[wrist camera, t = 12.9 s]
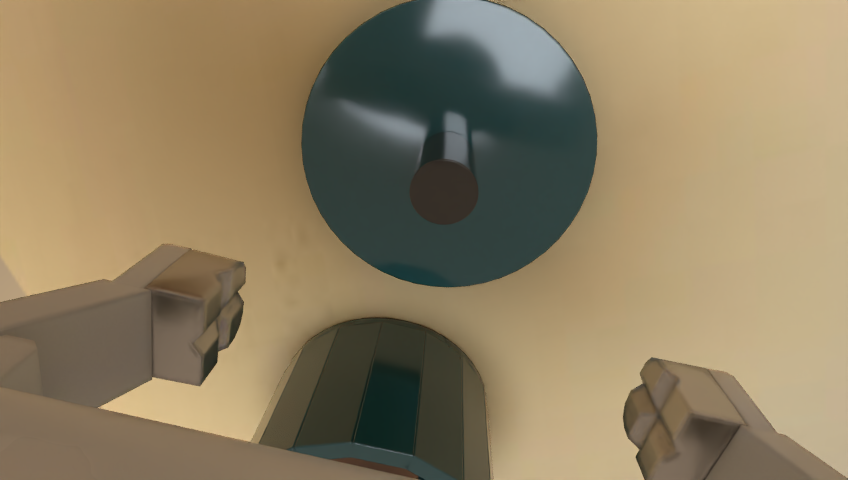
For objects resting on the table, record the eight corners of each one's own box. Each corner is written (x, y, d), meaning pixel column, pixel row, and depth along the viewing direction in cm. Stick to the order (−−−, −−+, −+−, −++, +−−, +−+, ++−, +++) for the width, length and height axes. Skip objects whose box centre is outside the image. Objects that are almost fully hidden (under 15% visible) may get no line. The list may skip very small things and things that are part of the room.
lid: (293, 245, 25) (250, 304, 19) (328, -39, 19) (283, -58, 14) (538, 300, 25) (559, 373, 20) (637, 38, 20) (699, 45, 15)
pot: (275, 453, 31) (213, 601, 23) (296, 296, 26) (228, 415, 18) (458, 492, 31) (458, 650, 23) (512, 344, 26) (535, 481, 18)
